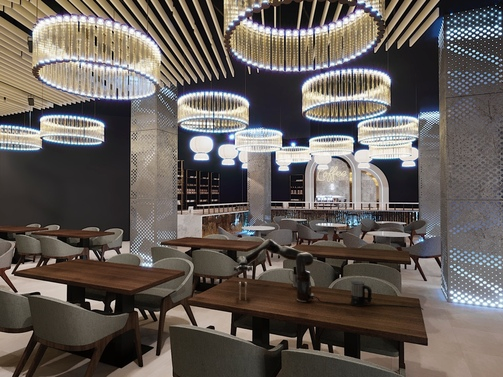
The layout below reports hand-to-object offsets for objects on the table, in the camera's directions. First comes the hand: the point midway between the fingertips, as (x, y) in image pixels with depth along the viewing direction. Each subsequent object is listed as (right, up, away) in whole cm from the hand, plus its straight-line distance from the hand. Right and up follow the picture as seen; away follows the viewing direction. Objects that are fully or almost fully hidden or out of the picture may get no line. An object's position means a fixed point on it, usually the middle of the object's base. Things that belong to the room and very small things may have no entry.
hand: (243, 270), depth 251 cm
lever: (0, -8, -16) cm, 18 cm away
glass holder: (+42, -18, +18) cm, 49 cm away
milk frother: (+83, -17, -23) cm, 88 cm away
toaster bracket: (0, -16, -21) cm, 26 cm away
